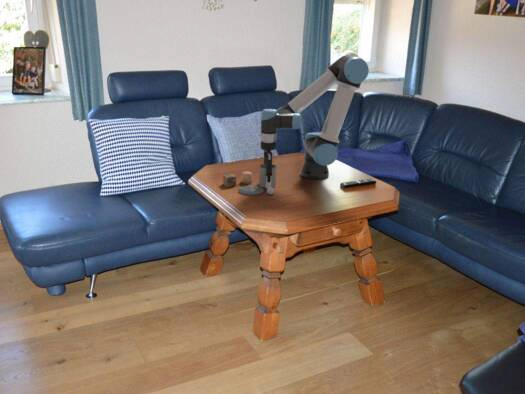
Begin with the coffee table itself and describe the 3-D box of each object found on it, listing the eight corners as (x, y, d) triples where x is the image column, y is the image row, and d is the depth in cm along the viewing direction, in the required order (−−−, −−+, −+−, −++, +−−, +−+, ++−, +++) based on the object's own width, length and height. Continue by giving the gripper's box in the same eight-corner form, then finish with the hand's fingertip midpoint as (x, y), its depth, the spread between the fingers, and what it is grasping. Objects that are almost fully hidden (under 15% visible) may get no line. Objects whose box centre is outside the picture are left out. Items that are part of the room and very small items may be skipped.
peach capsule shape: (251, 180, 265) (251, 171, 263) (252, 183, 260) (252, 174, 258) (241, 180, 264) (241, 171, 262) (242, 183, 259) (242, 174, 258)
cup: (274, 188, 254) (274, 169, 250) (257, 187, 255) (258, 167, 252) (277, 183, 261) (277, 164, 258) (261, 181, 263) (261, 163, 260)
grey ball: (273, 193, 247) (274, 185, 246) (274, 195, 244) (275, 188, 243) (266, 193, 247) (266, 186, 246) (267, 195, 243) (267, 188, 242)
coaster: (262, 186, 255) (262, 185, 255) (264, 195, 244) (264, 193, 244) (238, 187, 254) (238, 185, 254) (239, 195, 243) (239, 194, 243)
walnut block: (232, 183, 261) (232, 173, 259) (236, 186, 256) (236, 176, 255) (223, 184, 259) (223, 174, 257) (226, 187, 254) (226, 177, 253)
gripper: (258, 135, 260) (257, 177, 268) (262, 146, 240) (262, 192, 248) (273, 135, 261) (272, 177, 269) (278, 146, 241) (277, 191, 248)
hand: (267, 184), depth 258 cm, fingers open, 9 cm apart
